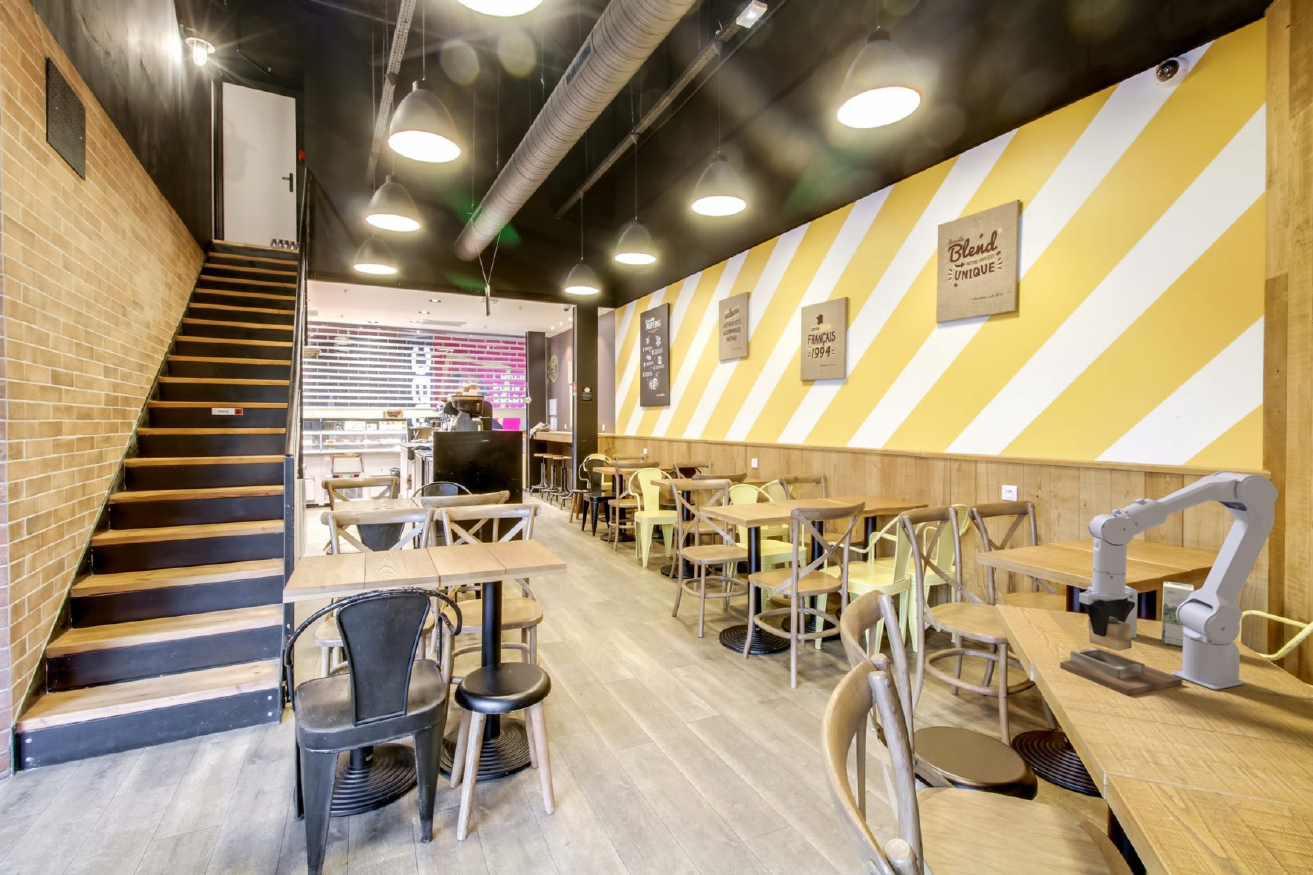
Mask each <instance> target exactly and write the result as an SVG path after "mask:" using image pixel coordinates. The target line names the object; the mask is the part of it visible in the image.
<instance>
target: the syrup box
mask: <svg viewBox="0 0 1313 875" xmlns="http://www.w3.org/2000/svg"><path fill="white" fill-rule="evenodd" d="M1162 585H1163V588H1162V607H1161V608H1162V610H1161V611H1162V612H1161V613H1162V614H1161V617H1162V618H1161V644H1165V645H1168V646H1169V645H1170V646H1175V647H1180V648H1183V626H1182V625H1181V624H1180V623H1179V622H1178V620H1177V618H1176V610H1177V608H1178V606H1179V605H1180V604H1182V603H1183V602H1184V601H1186V600H1187V598H1188V597H1189V595H1190V593H1192V592H1194V591H1195V588H1194V585H1193V584H1186V583H1181V582H1180V583H1179V582H1174V581H1173V582H1171V581H1167V580H1166V581H1163V584H1162Z"/></svg>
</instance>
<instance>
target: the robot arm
mask: <svg viewBox="0 0 1313 875" xmlns="http://www.w3.org/2000/svg"><path fill="white" fill-rule="evenodd" d="M1279 494H1280V493H1279V491H1278V490H1277V488H1276V487H1275V485H1274V484H1273V482H1272V481H1271V480H1270V479H1269V478H1268V477H1266V476H1263V475H1260V474H1246V473H1237V472H1232V471H1228V470H1220V471H1217V472H1214V473H1212V474H1211V475H1206V476H1203V477H1202V478H1200V479H1199V480H1197V481H1195V482H1193V483H1192V484H1190V485H1187V486H1185V487H1183V488H1180V489H1178V490H1176V491H1175V492H1172V493H1171V494H1168V495H1165V496H1164V497H1161V498H1159V499H1157V500H1155V499H1152V498H1145V499H1144V498H1137V499H1133V504H1130V505H1128V506H1125V507H1123V508H1120V509H1117V508H1114V509H1112V510H1111V514H1106V513H1101V514H1098V515H1096V516H1094V518H1093V519H1092V520H1091V521H1090V524H1089V525H1087V531H1088V532H1089V535H1090V536H1091V537H1092V540H1093V547H1092V576H1091V577H1092V579H1091V580H1092V581H1091V582H1092V583H1091V586H1087V590H1085V591H1084V592H1079V596H1078V597H1079V598H1078V601H1079V602H1078V603H1081V605H1082V607H1083V608H1084V609H1085V611H1086V613H1087V615H1088V618H1089V619H1090V621H1091V625H1092V629H1093V632H1094V634H1096V635H1099V636H1102V637H1105V636H1106V633H1107V626H1108V620H1109V617H1110V616H1111V617H1115V618H1117V619H1118V621H1120V622H1124V623H1125V621H1126V619H1127V617H1128V615H1129V613H1130V612H1131V611H1132V609H1133V608H1134V607H1135V603H1134V602H1132V601H1128V598H1131V599H1136V598H1137V599H1138V595H1137V591H1138V590H1137V589H1134V588H1132V587H1130V588H1125V586H1127V584H1126V580H1127V577H1126V576H1127V549H1128V548H1127V546H1128V543H1130V542H1132V540H1133V539H1134V536H1135V535H1138V534H1140V533H1143V532H1145V531H1148V530H1151V529H1153V528H1155V527H1157V526H1160V525H1163V524H1165V523H1166V522H1167V519H1168V516H1169V515H1171V514H1173V513H1177V512H1179V511H1183V510H1185V509H1188V508H1191V507H1193V506H1194V507H1195V506H1197V505H1200V504H1204V503H1206V502H1208V501H1209V502H1210V501H1212V502H1213V501H1216V502H1218V503H1219V504H1220V505H1221V506H1223V507H1225V508H1226V509H1227V511H1228V513H1229V514H1230V515H1231V517H1232V518H1233V520H1234V522H1233V524H1232V526H1231V528H1230V530H1229V531H1228V534H1227V536H1226V539H1225V540H1224V542H1223V544H1222V547H1221V549H1220V550H1219V552H1218V555H1217V556H1216V559H1215V561H1214V562H1213V565H1212V567H1211V569H1210V571H1209V573H1208V575H1207V577H1206V578H1205V581H1204V584H1203V585H1202V587H1201V588H1199V589H1196V590H1194V592H1192V593H1190V595H1189V597H1188V598H1187V600H1186V601H1184V602H1183V603H1182V604H1180V605H1179V606H1178V608H1177V610H1176V618H1177V620H1178V622H1179V623H1180V624H1181V625H1182V626H1183V647H1182V663H1181V664H1182V666H1181V667H1182V668H1181V670H1176V671H1172V672H1171V675H1173V676H1176V677H1178V678H1181V679H1182V680H1183V679H1184V680H1186V681H1189V682H1192V683H1194V684H1198V685H1200V686H1203V687H1205V688H1209V689H1211V690H1215V691H1216V690H1220V689H1221V690H1222V689H1226V688H1230V687H1231V688H1232V687H1235V686H1240V685H1244V684H1245V681H1244V680H1241V679H1240V658H1241V656H1240V655H1241V652H1240V649H1239V648H1238V646H1237V644H1236V643H1235V642H1234V641H1235V640H1236V639H1237V638H1238V636H1239V635H1240V632H1241V628H1240V620H1241V619H1242V616H1243V612H1242V610H1241V608H1240V606H1239V605H1238V602H1237V600H1238V597H1239V596H1240V594H1241V592H1242V590H1243V588H1244V586H1245V583H1246V582H1247V580H1248V578H1249V575H1250V574H1251V572H1252V570H1253V568H1254V566H1255V564H1256V561H1257V560H1258V559H1259V558H1258V557H1259V556H1260V553H1261V552H1262V550H1263V548H1264V545H1265V544H1266V542H1267V540H1268V537H1269V535H1270V533H1271V531H1272V529H1273V527H1274V525H1275V522H1276V516H1275V515H1276V513H1275V502H1276V501H1277V499H1278V497H1279ZM1131 588H1132V589H1131Z"/></svg>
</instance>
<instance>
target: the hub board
mask: <svg viewBox="0 0 1313 875" xmlns="http://www.w3.org/2000/svg"><path fill="white" fill-rule="evenodd" d="M1059 663H1060V664H1059V668H1061V669H1063V670H1065V671H1067V672H1070V673H1073V674H1075V675H1077V676H1078V677H1082V678H1084V679H1087V680H1089V681H1091V680H1092V681H1091V682H1094V683H1096V684H1098V683H1099V685H1101V684H1102V685H1101V686H1103V685H1104V686H1103V687H1106V688H1108V687H1110V688H1111V690H1113V691H1116V692H1118V691H1119V692H1118V693H1120V694H1123V695H1126V696H1133V695H1138V694H1142V693H1147V691H1148V692H1152V691H1158V690H1162V688H1163V689H1166V688H1165V687H1168V688H1172V687H1177V686H1176V685H1178V686H1181V685H1180V684H1182V685H1183V678H1180V677H1178V676H1175V675H1172V674H1170V673H1167V672H1164V671H1162V670H1159V669H1156V668H1153V667H1151V666H1148V665H1146V664H1145V663H1144V662H1141V661H1138V660H1135V659H1132V658H1129V657H1127V656H1124V655H1121V654H1118V653H1115V652H1113V651H1110V650H1107V649H1104V648H1101V647H1099V646H1094V647H1091V648H1085V649H1078V650H1073V651H1070V660H1066V661H1061V662H1059ZM1110 688H1109V689H1110Z"/></svg>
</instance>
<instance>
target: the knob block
mask: <svg viewBox="0 0 1313 875" xmlns="http://www.w3.org/2000/svg"><path fill="white" fill-rule="evenodd" d="M1088 638H1089V639H1088V640H1089V643H1090V644H1094V645H1097V646H1101V647H1105V648H1108V649H1111V650H1114V651H1118V652H1119V651H1125V650H1129V649H1132V648H1133V646H1132V643H1133V642H1132V638H1131V626H1130V624H1128V623H1124V622H1120V621H1118V619H1117V618H1115V617H1111V616H1110V617H1109V620H1108V626H1107V633H1106V636H1105V637H1102V636H1099V635H1096V634H1094V632H1093V629H1092V625H1091V621H1090V618H1089V619H1088Z"/></svg>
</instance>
